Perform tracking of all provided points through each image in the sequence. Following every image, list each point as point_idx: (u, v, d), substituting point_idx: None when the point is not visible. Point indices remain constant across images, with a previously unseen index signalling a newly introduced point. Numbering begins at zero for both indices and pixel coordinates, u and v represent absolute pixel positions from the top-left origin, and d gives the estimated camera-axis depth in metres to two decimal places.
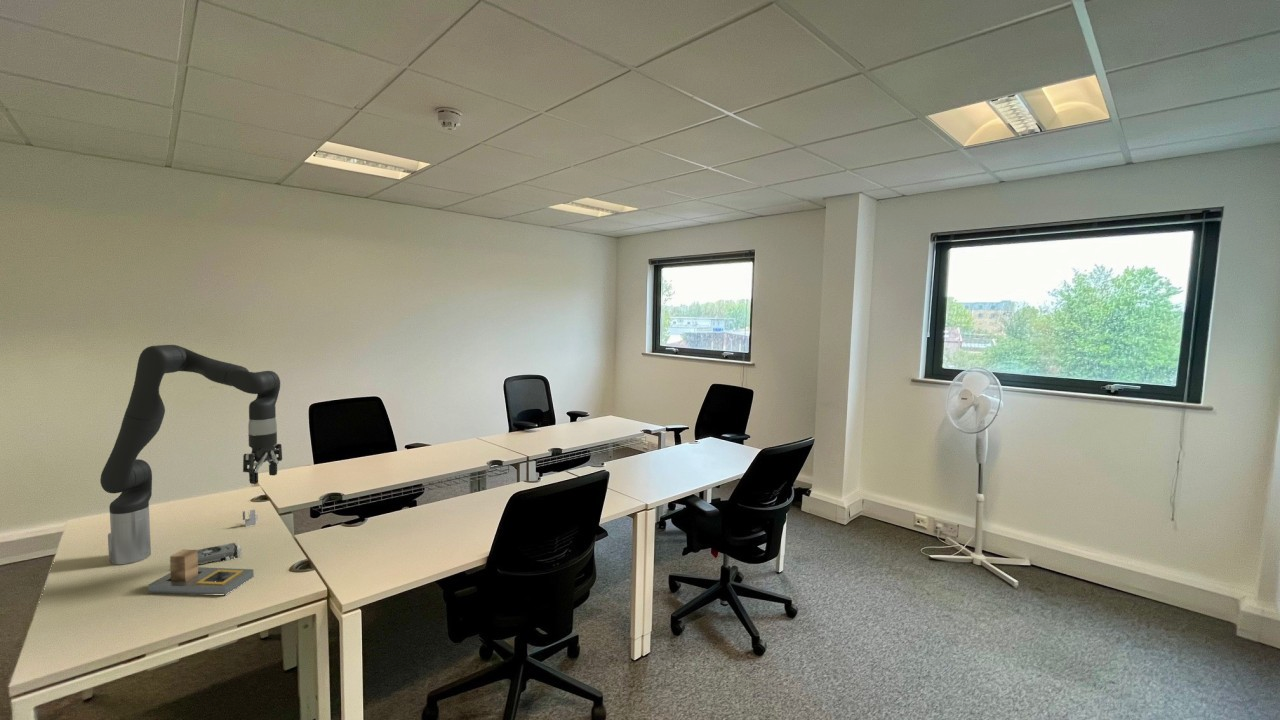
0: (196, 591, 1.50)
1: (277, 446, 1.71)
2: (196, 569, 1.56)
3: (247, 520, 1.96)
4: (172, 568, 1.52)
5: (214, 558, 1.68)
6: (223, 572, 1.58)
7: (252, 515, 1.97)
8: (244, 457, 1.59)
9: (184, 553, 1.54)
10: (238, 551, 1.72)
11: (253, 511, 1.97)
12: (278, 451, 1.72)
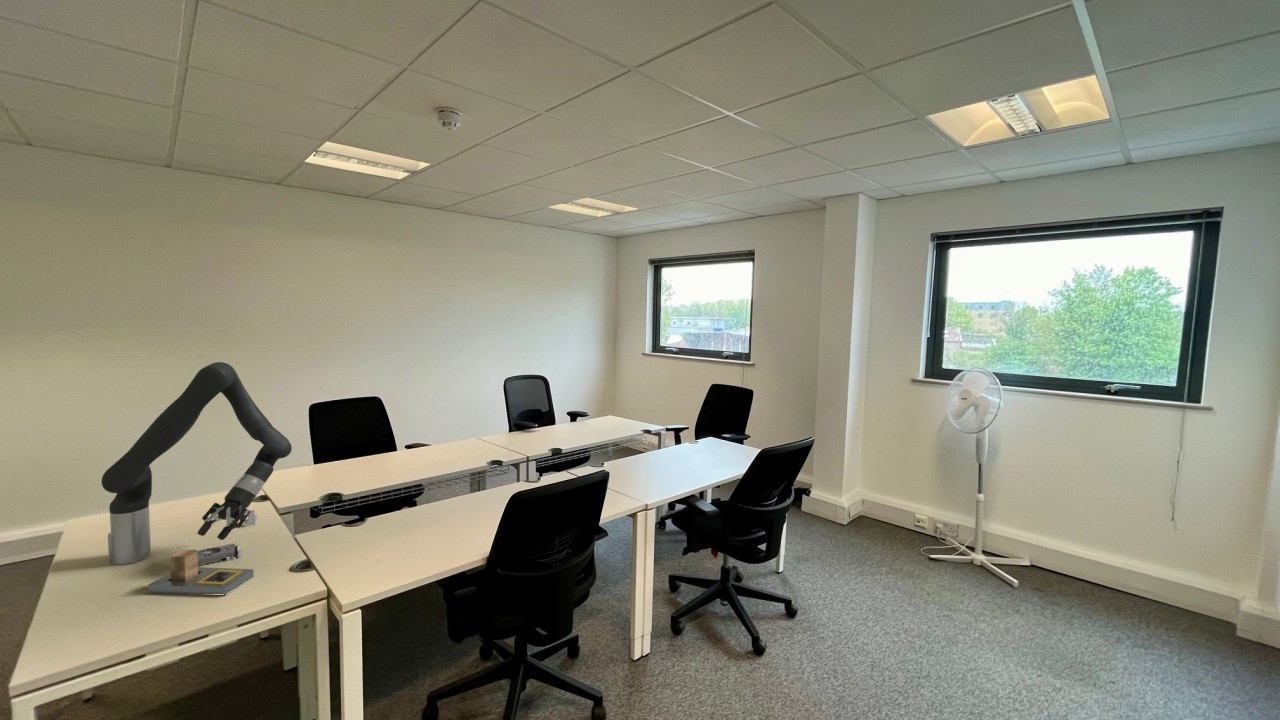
0: (196, 591, 1.50)
1: None
2: (196, 569, 1.56)
3: (246, 520, 1.96)
4: (172, 568, 1.52)
5: (214, 559, 1.68)
6: (223, 572, 1.58)
7: (251, 515, 1.97)
8: (244, 511, 1.65)
9: (184, 553, 1.54)
10: (239, 551, 1.72)
11: (252, 511, 1.97)
12: None
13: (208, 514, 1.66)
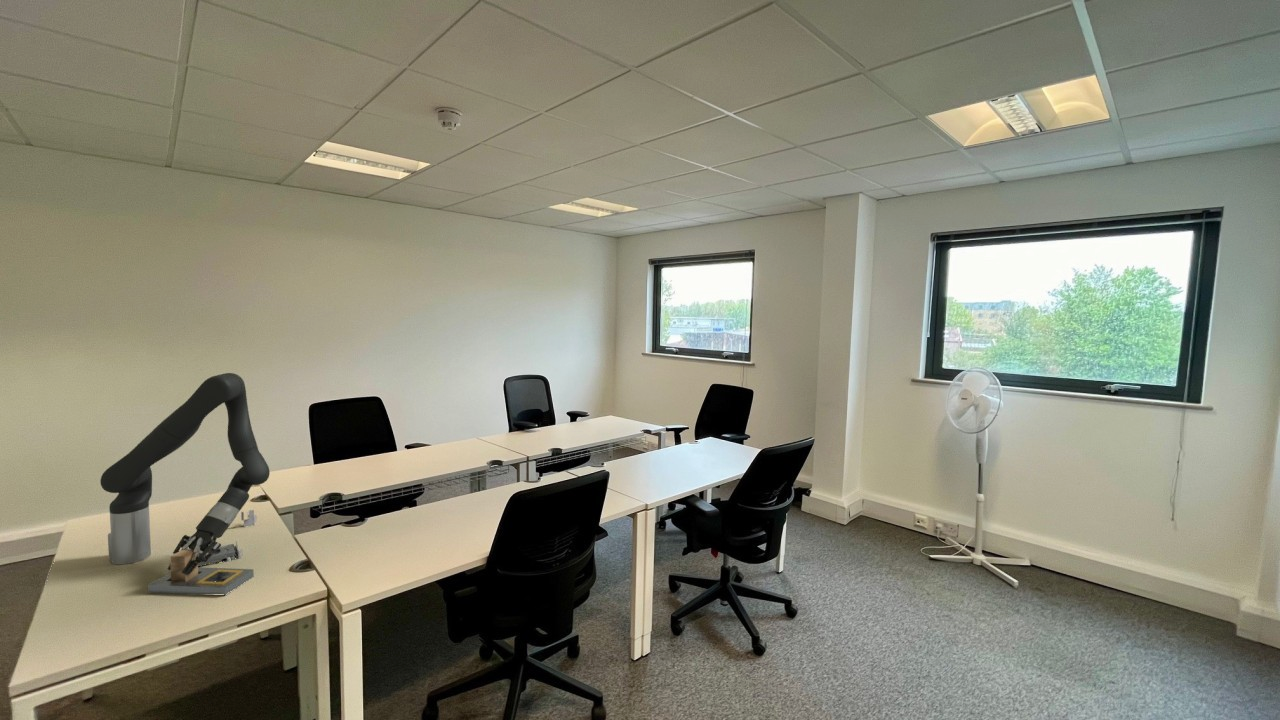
0: (196, 591, 1.50)
1: None
2: (196, 569, 1.56)
3: (246, 520, 1.96)
4: (172, 568, 1.52)
5: (215, 559, 1.68)
6: (223, 572, 1.58)
7: (251, 515, 1.97)
8: (214, 545, 1.56)
9: (184, 553, 1.54)
10: (239, 551, 1.72)
11: (252, 511, 1.97)
12: None
13: (179, 547, 1.57)
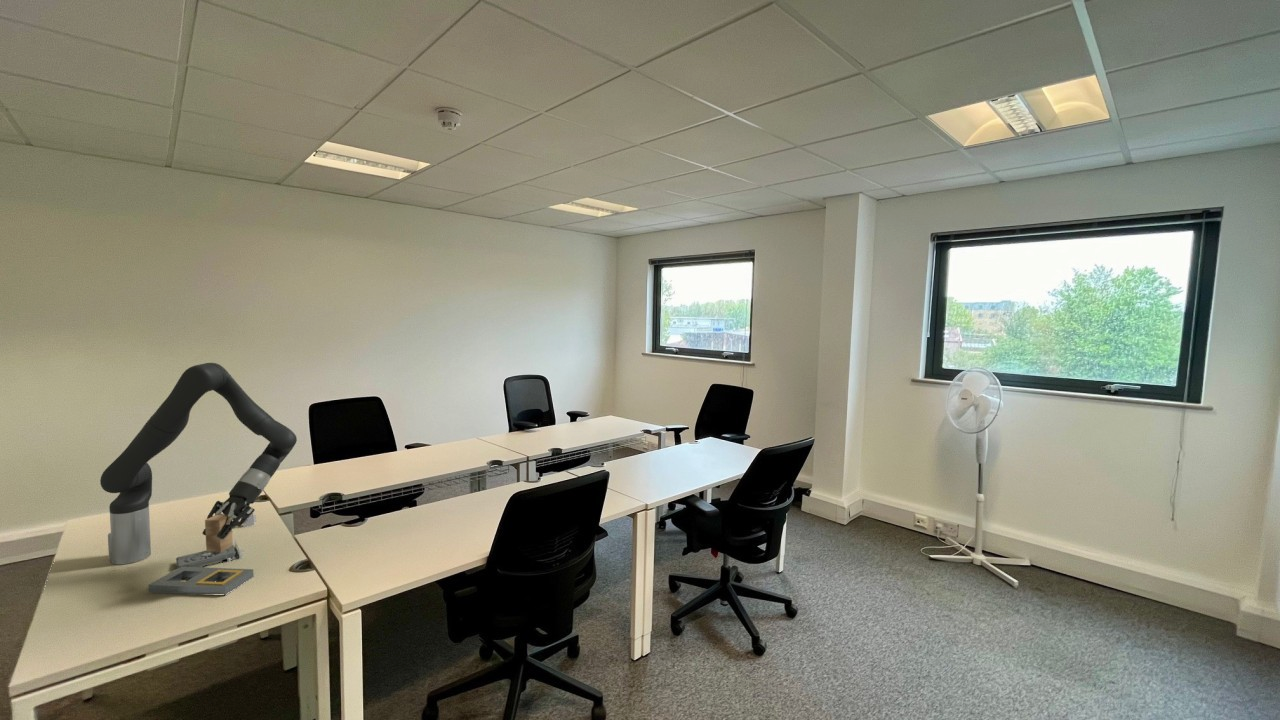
0: (196, 591, 1.50)
1: (223, 504, 1.60)
2: (230, 534, 1.55)
3: (245, 521, 1.96)
4: (207, 532, 1.52)
5: (216, 560, 1.67)
6: (223, 572, 1.58)
7: (250, 516, 1.96)
8: (247, 510, 1.55)
9: (218, 517, 1.53)
10: (240, 552, 1.71)
11: None
12: None
13: (213, 513, 1.56)
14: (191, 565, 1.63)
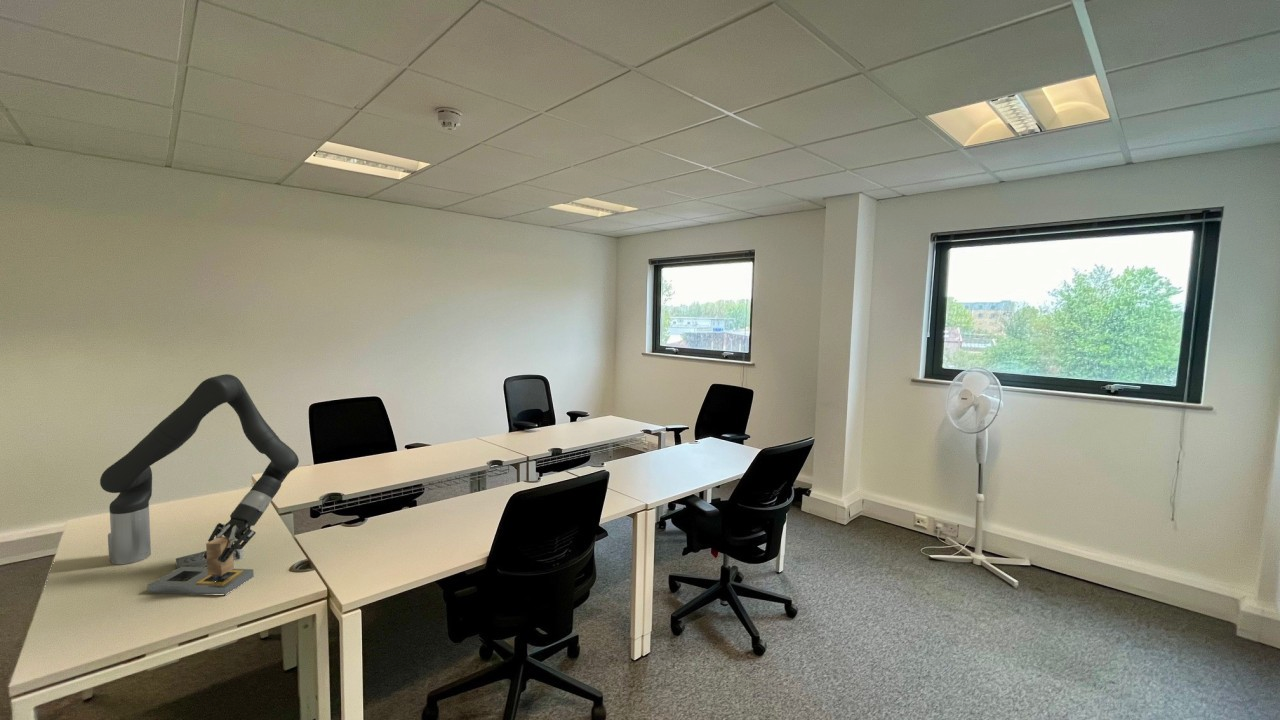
0: (196, 591, 1.50)
1: (224, 527, 1.61)
2: (231, 557, 1.56)
3: None
4: (208, 555, 1.52)
5: None
6: None
7: None
8: (248, 533, 1.56)
9: (219, 540, 1.54)
10: (240, 552, 1.71)
11: None
12: None
13: (214, 535, 1.57)
14: (192, 565, 1.63)
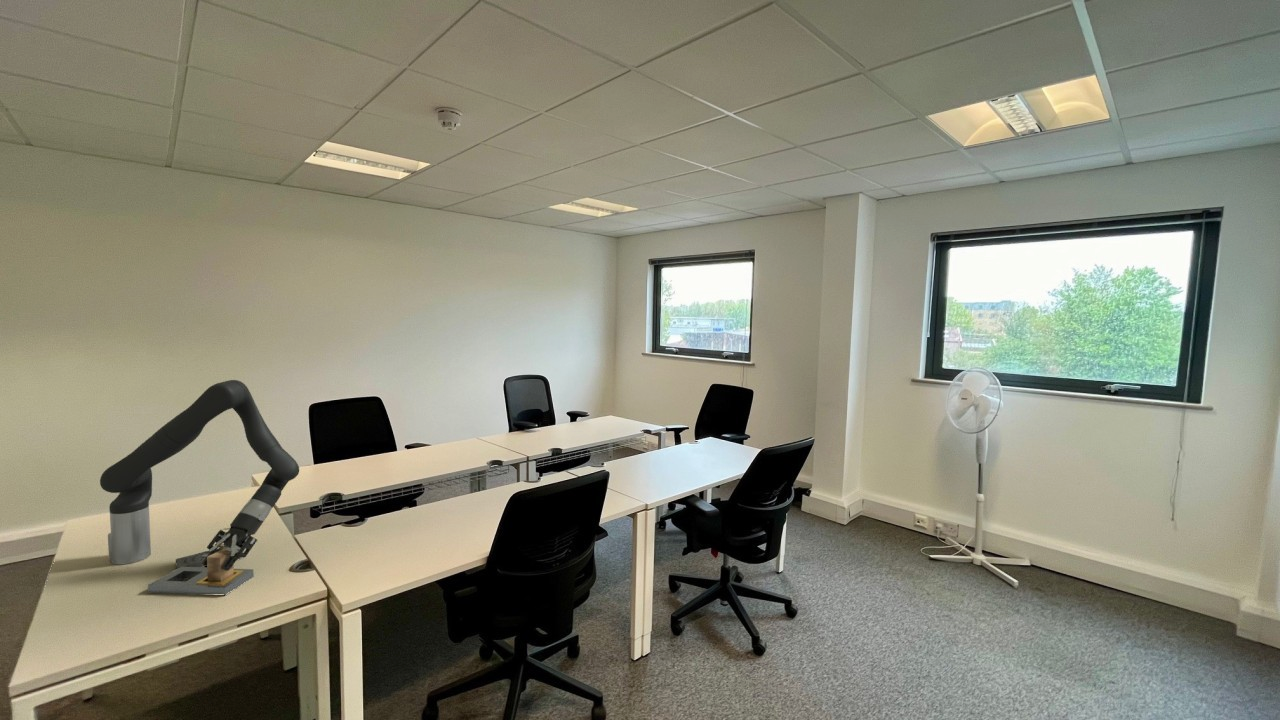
0: (196, 591, 1.50)
1: None
2: (231, 571, 1.56)
3: None
4: (209, 569, 1.53)
5: None
6: None
7: None
8: (251, 540, 1.57)
9: (220, 554, 1.54)
10: None
11: None
12: None
13: (213, 542, 1.58)
14: (192, 566, 1.62)
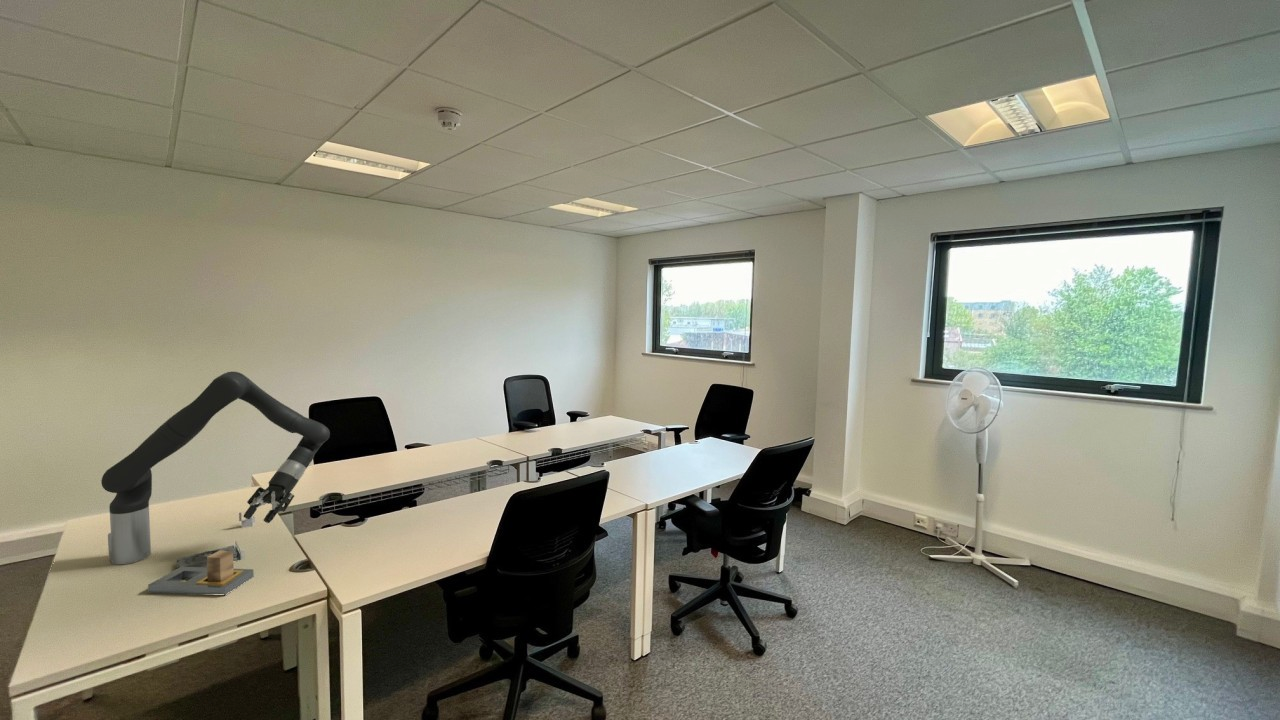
0: (196, 591, 1.50)
1: None
2: (231, 571, 1.56)
3: (243, 521, 1.95)
4: (208, 569, 1.53)
5: None
6: None
7: None
8: (289, 495, 1.68)
9: (220, 554, 1.54)
10: (241, 553, 1.71)
11: None
12: None
13: (253, 498, 1.69)
14: (192, 566, 1.62)
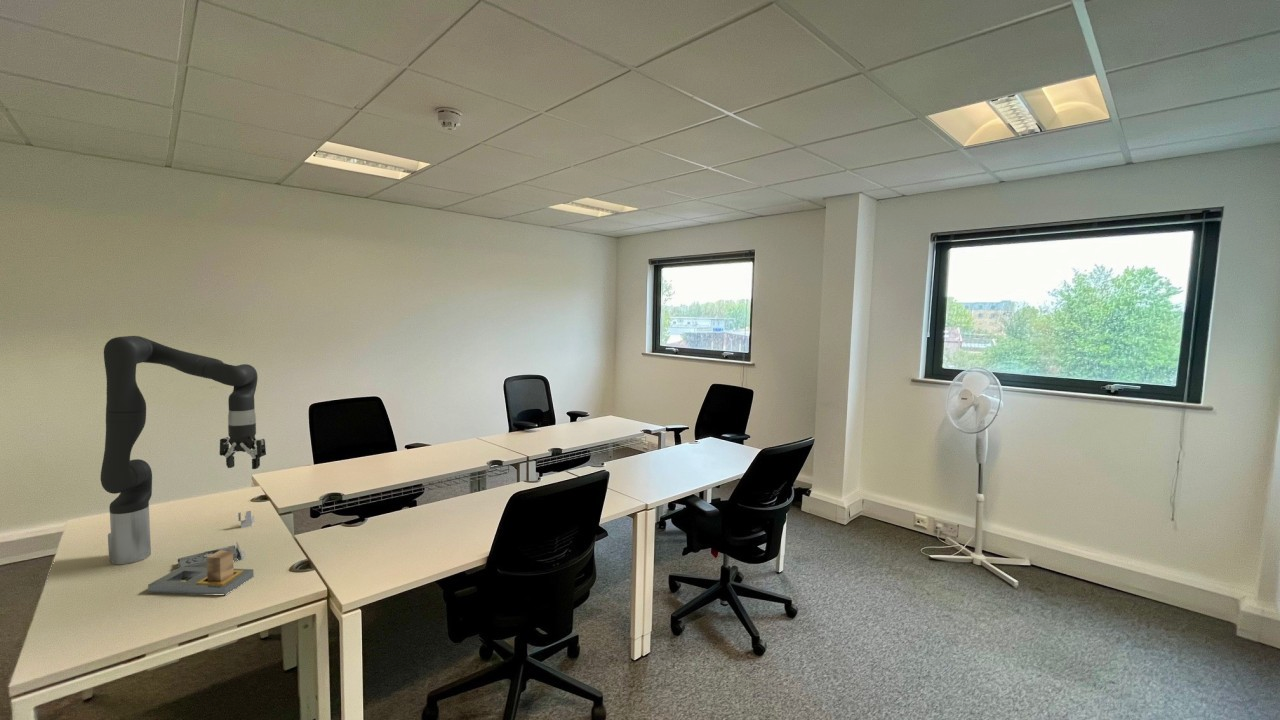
0: (196, 591, 1.50)
1: None
2: (231, 571, 1.56)
3: (243, 521, 1.95)
4: (208, 569, 1.53)
5: None
6: None
7: (248, 516, 1.96)
8: (260, 443, 1.73)
9: (220, 554, 1.54)
10: (242, 553, 1.71)
11: (249, 512, 1.96)
12: (228, 444, 1.75)
13: (223, 450, 1.73)
14: (193, 566, 1.62)
